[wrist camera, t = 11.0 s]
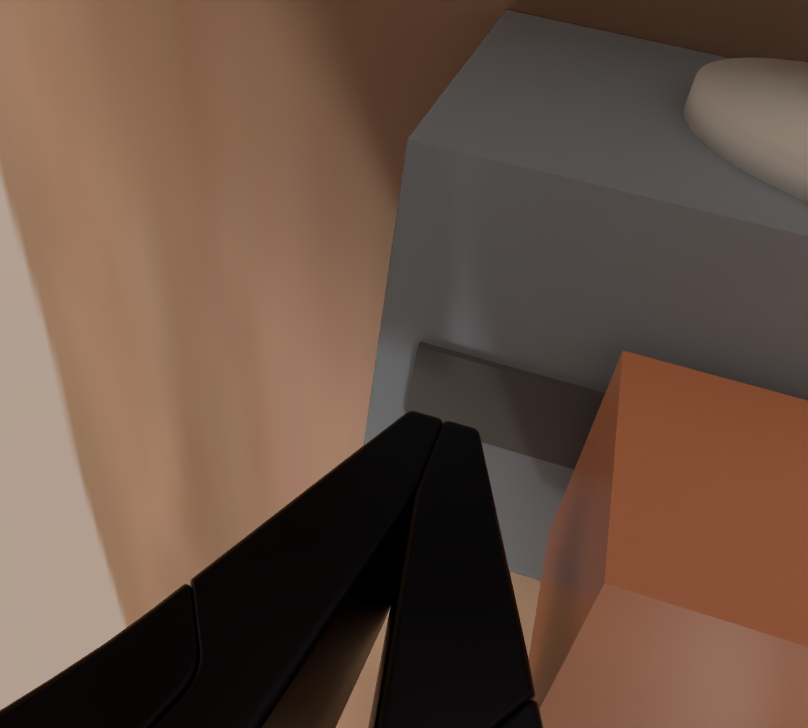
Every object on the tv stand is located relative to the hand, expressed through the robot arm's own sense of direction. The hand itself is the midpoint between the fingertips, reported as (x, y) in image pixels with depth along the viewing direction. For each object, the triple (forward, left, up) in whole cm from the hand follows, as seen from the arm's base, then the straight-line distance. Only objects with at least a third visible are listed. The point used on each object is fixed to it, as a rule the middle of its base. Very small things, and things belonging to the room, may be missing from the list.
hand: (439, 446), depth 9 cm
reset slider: (0, -3, 0) cm, 3 cm away
